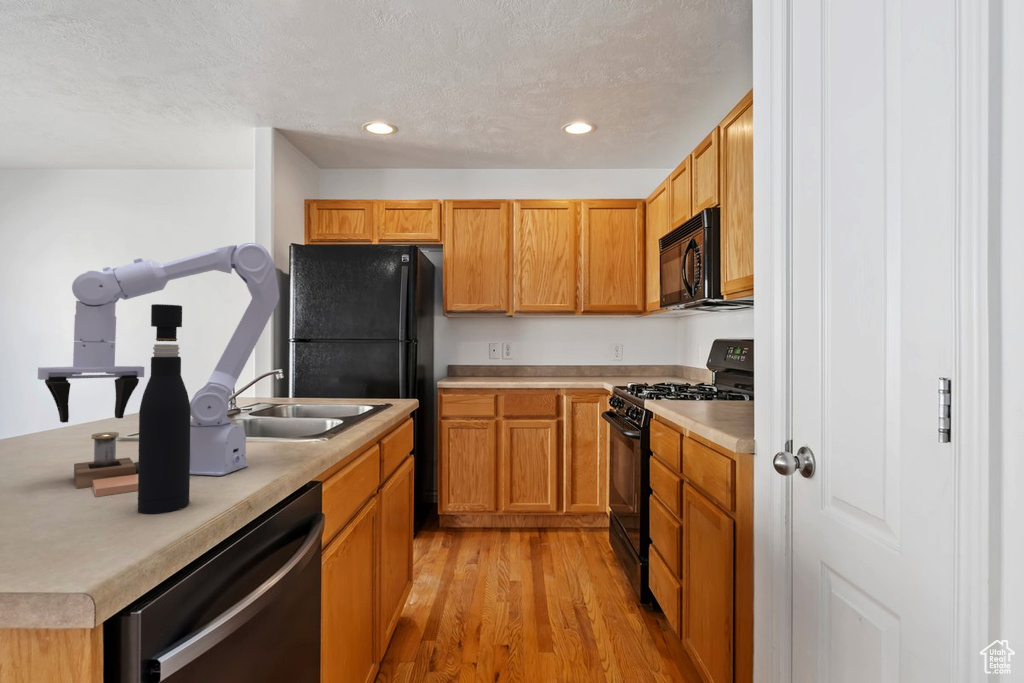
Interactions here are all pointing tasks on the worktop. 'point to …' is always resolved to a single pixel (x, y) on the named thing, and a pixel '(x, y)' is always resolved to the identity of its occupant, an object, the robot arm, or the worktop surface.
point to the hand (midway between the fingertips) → (92, 419)
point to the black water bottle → (164, 423)
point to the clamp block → (102, 471)
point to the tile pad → (115, 485)
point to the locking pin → (105, 449)
